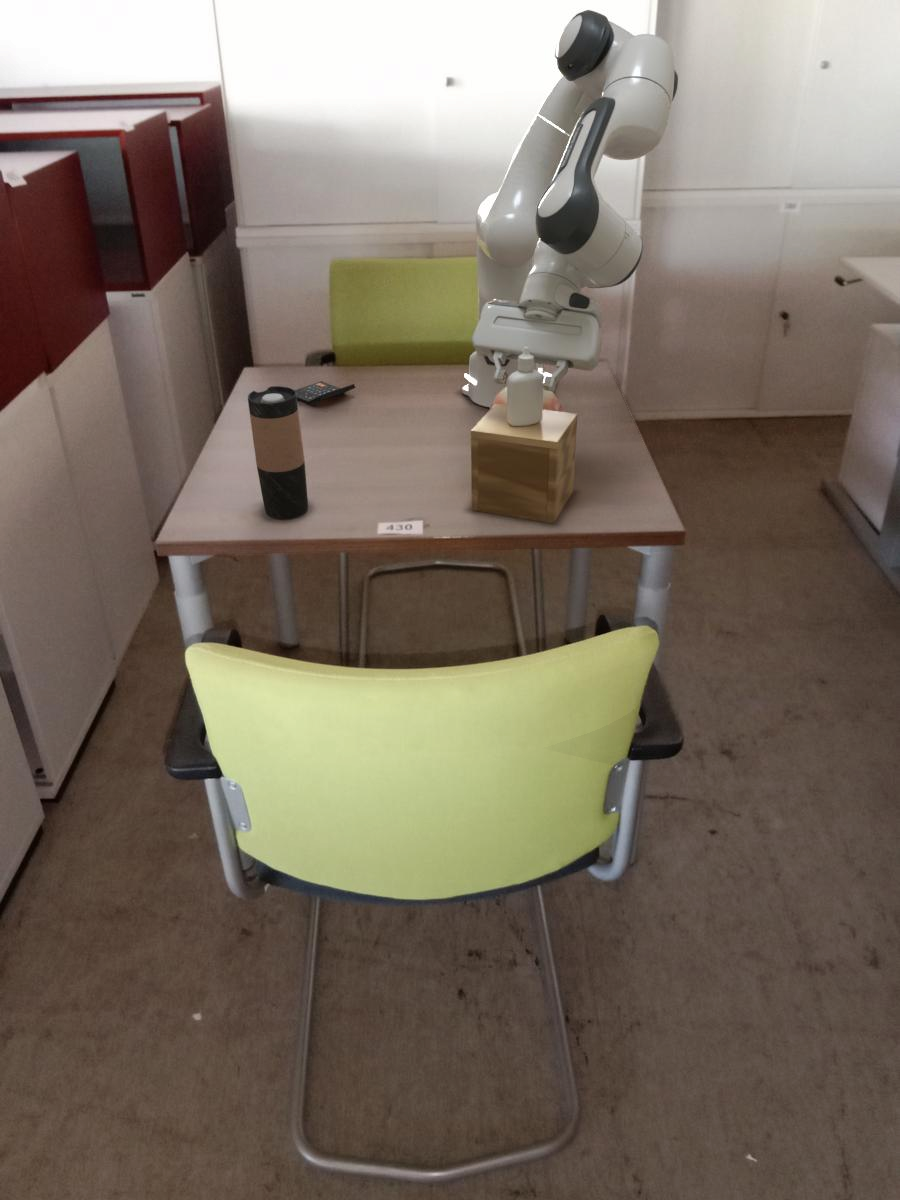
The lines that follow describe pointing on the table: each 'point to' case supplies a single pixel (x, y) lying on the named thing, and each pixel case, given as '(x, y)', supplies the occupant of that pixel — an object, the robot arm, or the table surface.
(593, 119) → the robot arm
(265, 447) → the travel mug
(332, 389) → the calculator
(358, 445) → the table surface
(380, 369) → the table surface
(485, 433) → the plywood crate
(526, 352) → the eye dropper bottle
